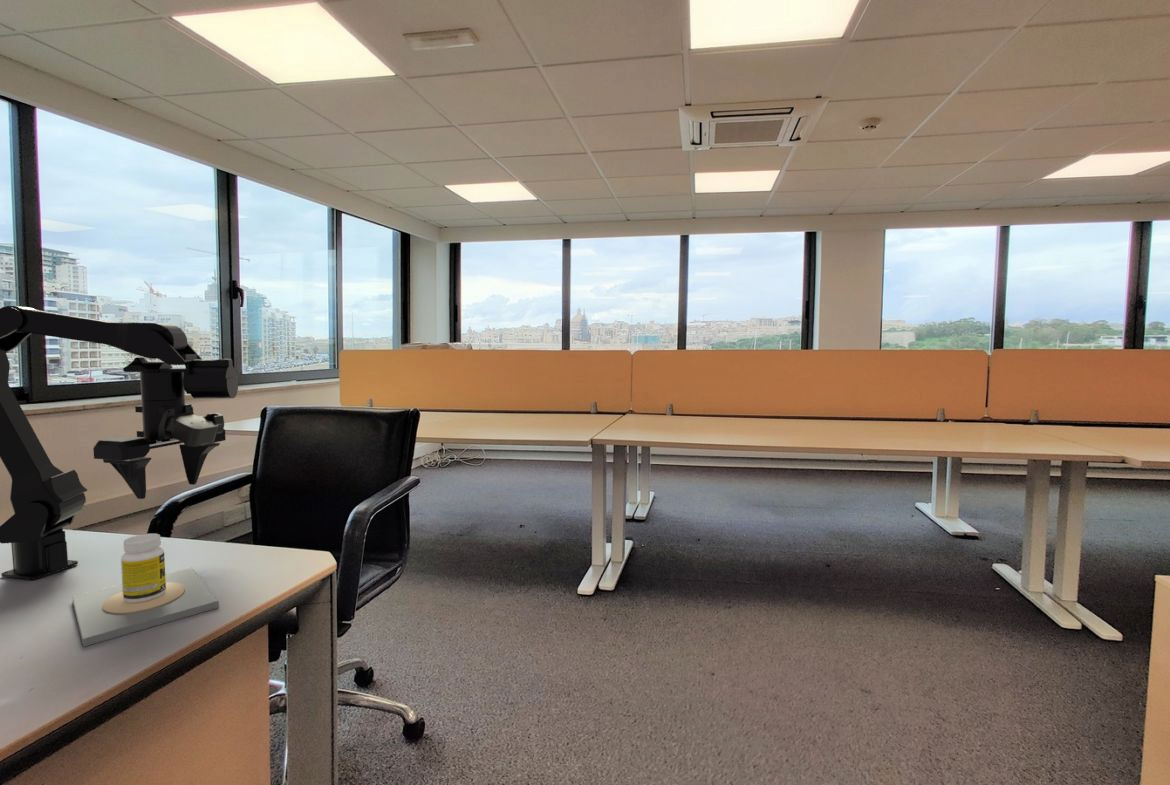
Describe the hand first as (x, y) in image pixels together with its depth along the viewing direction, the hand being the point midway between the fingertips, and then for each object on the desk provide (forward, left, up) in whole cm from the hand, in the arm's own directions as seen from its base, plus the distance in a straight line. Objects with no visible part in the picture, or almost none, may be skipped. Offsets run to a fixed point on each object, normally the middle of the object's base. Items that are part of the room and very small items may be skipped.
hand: (168, 491), depth 91 cm
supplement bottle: (+11, -14, -11) cm, 21 cm away
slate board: (+11, -14, -12) cm, 21 cm away
